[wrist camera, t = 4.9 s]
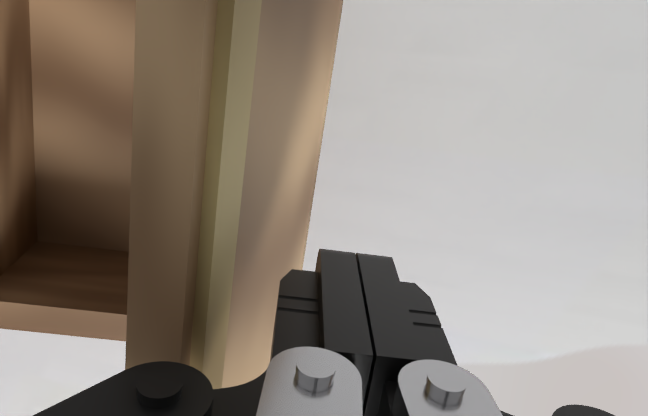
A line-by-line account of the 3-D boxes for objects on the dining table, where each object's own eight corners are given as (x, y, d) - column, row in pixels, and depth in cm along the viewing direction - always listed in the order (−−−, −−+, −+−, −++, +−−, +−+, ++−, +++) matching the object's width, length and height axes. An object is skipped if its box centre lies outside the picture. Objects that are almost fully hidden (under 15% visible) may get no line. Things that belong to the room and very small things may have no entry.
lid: (145, -348, 5) (250, -337, 5) (331, -103, 16) (365, -98, 16) (114, 729, 11) (163, 744, 11) (267, 366, 22) (291, 372, 22)
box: (-4, -126, 21) (-114, -168, 16) (314, -71, 22) (319, -92, 17) (15, 253, 27) (-60, 322, 21) (269, 282, 28) (260, 355, 22)
